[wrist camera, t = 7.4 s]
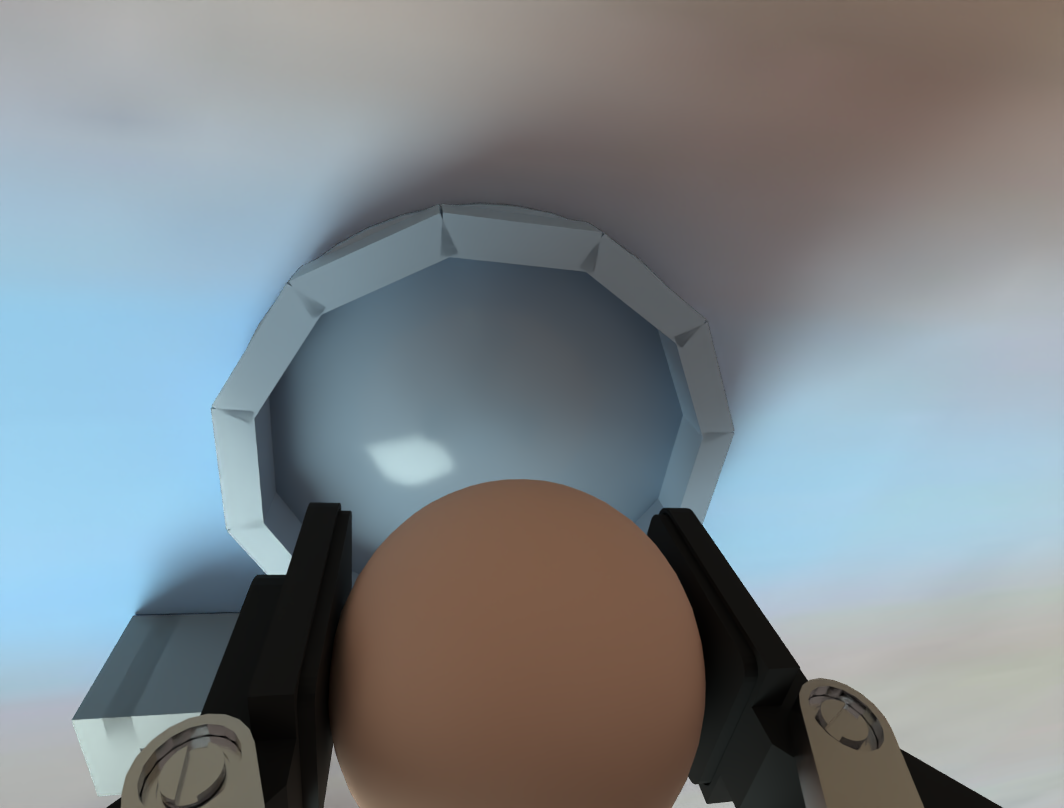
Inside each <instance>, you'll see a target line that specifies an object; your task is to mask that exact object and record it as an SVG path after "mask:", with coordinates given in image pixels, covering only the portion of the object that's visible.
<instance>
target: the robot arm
mask: <svg viewBox="0 0 1064 808" xmlns="http://www.w3.org/2000/svg"><path fill="white" fill-rule="evenodd" d="M647 536H648V537H649V538H650V539H651V540H652V541H653V542H654V543H655V545H656V546H657V547H658V548H659V550H660V551H661V553H662V554H663V555H664V557H665V558H666V559H667V561H668V562H669V564H670V565H671V567H672V568H673V570H674V571H675V573H676V574H677V577H678V579H679V581H680V583H681V585H682V587H683V589H684V591H685V593H686V596H687V598H688V600H689V602H690V604H691V607H692V609H693V613H694V616H695V620H696V624H697V627H698V631H699V635H700V639H701V642H702V648H703V656H704V664H705V679H706V690H705V710H704V718H703V724H702V729H701V735H700V740H699V745H698V748H697V751H696V754H695V757H694V760H693V763H692V766H691V769H690V772H689V774H688V777H689V779H690V780H691V782H692V783H694V784H699V786H700V789H701V791H702V794H703V796H704V798H705V801H706V803H707V804H711V803H721V802H730V801H733V803H734V805H735V807H736V808H1002V807H1001V806H999V805H997V804H995V803H994V802H992V801H990V800H988V799H987V798H985V797H983V796H982V795H980V794H978V793H976V792H975V791H973V790H971V789H969V788H968V787H966V786H964V785H962V784H961V783H959V782H957V781H955V780H954V779H952V778H950V777H948V776H947V775H945V774H943V773H942V772H940V771H938V770H936V769H935V768H933V767H931V766H929V765H928V764H926V763H924V762H922V761H921V760H919V759H917V758H915V757H914V756H912V755H910V754H909V753H907V752H905V751H903V750H902V749H900V748H899V745H898V743H897V740H896V738H895V736H894V733H893V731H892V729H891V727H890V725H889V723H888V722H887V720H886V718H885V716H884V715H883V714H882V713H881V712H880V711H879V709H878V708H877V707H876V706H875V705H874V704H873V703H872V702H871V701H869V700H868V699H867V698H866V697H865V696H863V695H862V694H861V693H859V692H858V691H856V690H854V689H853V688H851V687H849V686H848V685H845V684H843V683H840V682H837V681H835V680H830V679H823V678H818V679H812V680H809V681H808V680H807V679H806V677H805V676H804V674H803V673H802V671H801V670H800V666H799V665H798V663H797V662H796V661H795V659H794V658H793V656H792V655H791V653H790V652H789V650H788V649H787V647H786V646H785V645H784V643H783V642H782V640H781V639H780V637H779V636H778V634H777V633H776V631H775V630H774V629H773V627H772V626H771V624H770V623H769V621H768V620H767V618H766V617H765V615H764V614H763V613H762V611H761V610H760V608H759V607H758V605H757V604H756V602H755V601H754V599H753V598H752V597H751V595H750V594H749V592H748V591H747V589H746V588H745V586H744V585H743V583H742V582H741V581H740V579H739V578H738V576H737V575H736V573H735V572H734V570H733V569H732V567H731V566H730V565H729V563H728V562H727V560H726V559H725V557H724V556H723V554H722V553H721V551H720V550H719V549H718V547H717V546H716V544H715V543H714V541H713V540H712V538H711V537H710V535H709V534H708V533H707V531H706V530H705V528H704V527H703V525H702V524H701V522H700V521H699V519H698V518H697V517H696V515H695V514H694V512H693V511H692V510H691V509H689V508H662V509H661V510H660V512H659V514H655V515H653V517H652V519H651V522H650V525H649V529H648V532H647ZM351 590H352V511H341V503H322V502H310V503H309V505H308V507H307V510H306V513H305V517H304V520H303V523H302V526H301V529H300V532H299V535H298V539H297V542H296V545H295V548H294V551H293V554H292V558H291V561H290V564H289V567H288V570H287V573H286V575H257V576H256V577H255V578H254V579H253V581H252V583H251V585H250V588H249V591H248V593H247V596H246V598H245V601H244V603H243V606H242V609H241V611H240V614H239V616H238V619H237V621H236V624H235V627H234V629H233V632H232V634H231V637H230V640H229V642H228V645H227V647H226V650H225V652H224V655H223V658H222V660H221V663H220V665H219V668H218V670H217V673H216V676H215V678H214V681H213V683H212V686H211V689H210V691H209V694H208V696H207V699H206V701H205V704H204V707H203V709H202V712H201V714H200V716H196V717H192V718H188V719H186V720H184V721H182V722H180V723H177V724H175V725H173V726H171V727H169V728H168V729H166V730H165V731H164V732H162V733H161V734H159V735H158V736H157V737H155V738H154V739H153V740H151V741H150V742H149V743H148V745H147V746H146V747H145V748H144V749H143V750H142V751H141V752H140V753H139V754H138V755H137V757H136V758H135V760H134V762H133V763H132V765H131V767H130V769H129V770H128V772H127V774H126V776H125V781H124V785H123V790H122V794H121V798H119V799H118V800H117V801H115V802H114V803H112V804H111V805H110V806H108V807H107V808H323V807H324V800H325V794H326V787H327V781H328V774H329V768H330V761H331V755H332V748H333V739H332V734H331V729H330V721H329V712H328V697H329V676H330V665H331V658H332V651H333V644H334V637H335V633H336V630H337V626H338V622H339V619H340V615H341V611H342V609H343V607H344V605H345V603H346V601H347V598H348V596H349V594H350V592H351Z"/></svg>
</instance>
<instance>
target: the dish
mask: <svg viewBox="0 0 1064 808" xmlns="http://www.w3.org/2000/svg"><path fill="white" fill-rule="evenodd" d="M211 414H212V422H213V430H214V438H215V445H216V453H217V461H218V469H219V477H220V485H221V493H222V501H223V509H224V517H225V525H226V529H228V531H227V532H228V533H229V534H230V535H231V536H232V537H233V538H234V539H235V540H236V542H237V543H238V544H239V545H240V546H241V547H242V548H243V549H244V550H245V551H246V552H247V553H248V555H249V556H250V557H251V558H252V559H253V560H254V561H255V562H256V563H257V564H258V565H259V566H260V568H261V569H262V570H263V571H264V572H265V573H266V574H267V575H286V573H287V570H288V567H289V564H290V561H291V558H292V554H293V551H294V548H295V545H296V542H297V539H298V535H299V532H300V529H301V526H302V523H303V520H304V517H305V513H306V510H307V507H308V505H309V503H310V502H322V503H341V511H352V588H353V586H354V583H355V581H356V579H357V577H358V576H359V574H360V573H361V571H362V570H363V568H364V567H365V565H366V564H367V562H368V561H369V560H370V558H371V557H372V555H373V554H374V552H375V551H376V550H377V548H378V547H379V546H380V545H381V544H382V543H383V542H384V541H385V539H386V538H387V537H388V536H389V535H390V534H391V533H392V532H393V531H394V530H396V529H397V528H398V527H399V526H400V525H401V524H402V523H404V522H405V521H406V520H407V519H408V518H409V517H411V516H412V515H413V514H414V513H416V512H417V511H419V510H420V509H422V508H423V507H425V506H426V505H428V504H429V503H431V502H433V501H435V500H437V499H439V498H441V497H443V496H445V495H447V494H450V493H452V492H455V491H458V490H460V489H463V488H466V487H469V486H472V485H476V484H480V483H484V482H490V481H497V480H507V479H530V480H542V481H548V482H553V483H558V484H563V485H566V486H569V487H572V488H575V489H578V490H580V491H583V492H585V493H588V494H590V495H592V496H594V497H596V498H598V499H600V500H602V501H604V502H606V503H607V504H609V505H610V506H612V507H613V508H615V509H616V510H617V511H619V512H620V513H622V514H623V515H625V516H626V517H627V518H629V519H630V520H632V521H633V522H634V523H635V524H636V525H637V526H638V527H639V528H640V529H641V530H642V531H643V532H644V533H645V534H646V535H647V532H648V529H649V525H650V522H651V519H652V517H653V515H655V514H659V512H660V510H661V509H662V508H689V509H691V510H692V511H693V512H694V514H695V515H696V517H697V518H698V519H699V521H700V522H701V524H703V521H704V518H705V515H706V512H707V510H708V507H709V504H710V501H711V498H712V495H713V492H714V489H715V487H716V484H717V481H718V478H719V475H720V472H721V469H722V466H723V464H724V461H725V458H726V455H727V452H728V449H729V446H730V444H731V441H732V438H733V435H734V432H733V431H734V427H733V423H732V419H731V415H730V411H729V407H728V403H727V398H726V394H725V390H724V386H723V382H722V378H721V374H720V370H719V366H718V362H717V357H716V353H715V349H714V345H713V341H712V337H711V333H710V329H709V325H708V322H707V321H706V319H705V318H704V317H703V316H701V315H700V314H699V313H698V312H697V311H695V310H694V309H693V308H692V307H691V306H690V305H688V304H687V303H686V302H685V301H684V300H683V299H681V298H680V297H679V296H678V295H677V294H675V293H674V292H673V291H672V290H671V289H670V288H668V287H667V286H666V285H665V284H664V283H663V282H662V281H661V280H660V279H659V278H658V277H657V276H656V275H655V274H654V273H653V272H652V271H651V270H650V269H649V268H648V267H647V266H646V265H645V264H644V263H643V262H642V261H640V260H639V259H638V258H636V257H635V256H634V255H632V254H631V253H629V252H628V251H627V250H625V249H624V248H623V247H621V246H620V245H618V244H617V243H616V242H614V241H613V240H612V239H611V238H610V237H608V236H607V235H606V234H605V233H603V232H602V231H600V230H599V229H597V228H596V227H594V226H593V225H591V224H590V223H588V222H583V221H575V220H569V219H567V218H564V217H561V216H558V215H555V214H552V213H550V212H545V211H540V210H535V209H530V208H525V207H520V206H515V205H501V204H484V203H473V204H460V205H449V204H442V205H441V206H439V204H437V205H435V206H433V207H431V208H429V209H425V210H420V211H416V212H411V213H406V214H403V215H400V216H397V217H395V218H392V219H389V220H387V221H384V222H381V223H379V224H376V225H373V226H370V227H368V228H366V229H364V230H363V231H361V232H359V233H357V234H355V235H353V236H352V237H350V238H348V239H346V240H344V241H342V242H340V243H339V244H337V245H335V246H334V247H333V248H331V249H330V250H329V251H327V252H326V253H325V254H323V255H322V256H321V257H319V258H318V259H316V260H314V261H311V262H309V263H307V264H305V265H303V266H301V267H300V268H299V269H298V270H297V271H296V272H295V274H294V275H293V276H292V277H291V278H290V280H289V281H288V282H287V283H286V285H285V286H284V288H283V290H282V291H281V293H280V295H279V296H278V298H277V300H276V301H275V302H274V304H273V305H272V307H271V308H270V309H269V311H268V312H267V313H266V315H265V316H264V318H263V319H262V320H261V322H260V323H259V325H258V327H257V329H256V331H255V333H254V335H253V337H252V339H251V341H250V343H249V345H248V347H247V349H246V350H245V352H244V354H243V355H242V357H241V359H240V360H239V362H238V363H237V365H236V367H235V368H234V370H233V372H232V373H231V375H230V377H229V378H228V380H227V381H226V383H225V385H224V386H223V388H222V390H221V391H220V393H219V395H218V396H217V398H216V399H215V401H214V403H213V404H212V408H211Z"/></svg>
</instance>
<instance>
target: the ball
mask: <svg viewBox="0 0 1064 808" xmlns="http://www.w3.org/2000/svg"><path fill="white" fill-rule="evenodd" d="M705 690H706V679H705V664H704V656H703V648H702V642H701V639H700V635H699V631H698V627H697V624H696V620H695V616H694V613H693V609H692V607H691V604H690V602H689V600H688V598H687V596H686V593H685V591H684V589H683V587H682V585H681V583H680V581H679V579H678V577H677V574H676V573H675V571H674V570H673V568H672V567H671V565H670V564H669V562H668V561H667V559H666V558H665V557H664V555H663V554H662V553H661V551H660V550H659V548H658V547H657V546H656V545H655V543H654V542H653V541H652V540H651V539H650V538H649V537H648V536H647V535H646V534H645V533H644V532H643V531H642V530H641V529H640V528H639V527H638V526H637V525H636V524H635V523H634V522H633V521H632V520H630V519H629V518H627V517H626V516H625V515H623V514H622V513H620V512H619V511H617V510H616V509H615V508H613V507H612V506H610V505H609V504H607V503H606V502H604V501H602V500H600V499H598V498H596V497H594V496H592V495H590V494H588V493H585V492H583V491H580V490H578V489H575V488H572V487H569V486H566V485H563V484H558V483H553V482H548V481H542V480H530V479H507V480H497V481H490V482H484V483H480V484H476V485H472V486H469V487H466V488H463V489H460V490H458V491H455V492H452V493H450V494H447V495H445V496H443V497H441V498H439V499H437V500H435V501H433V502H431V503H429V504H428V505H426V506H425V507H423V508H422V509H420V510H419V511H417V512H416V513H414V514H413V515H412V516H411V517H409V518H408V519H407V520H406V521H405V522H404V523H402V524H401V525H400V526H399V527H398V528H397V529H396V530H394V531H393V532H392V533H391V534H390V535H389V536H388V537H387V538H386V539H385V541H384V542H383V543H382V544H381V545H380V546H379V547H378V548H377V550H376V551H375V552H374V554H373V555H372V557H371V558H370V560H369V561H368V562H367V564H366V565H365V567H364V568H363V570H362V571H361V573H360V574H359V576H358V577H357V579H356V581H355V583H354V586H353V588H352V590H351V592H350V594H349V596H348V598H347V601H346V603H345V605H344V607H343V609H342V611H341V615H340V619H339V622H338V626H337V630H336V633H335V637H334V644H333V651H332V658H331V665H330V676H329V697H328V712H329V721H330V729H331V734H332V739H333V743H334V748H335V752H336V756H337V759H338V762H339V764H340V767H341V770H342V772H343V775H344V777H345V780H346V783H347V785H348V788H349V790H350V792H351V794H352V796H353V797H354V799H355V801H356V802H357V804H358V806H359V807H360V808H672V806H673V804H674V802H675V801H676V799H677V797H678V795H679V793H680V792H681V790H682V788H683V786H684V784H685V782H686V780H687V777H688V774H689V772H690V769H691V766H692V763H693V760H694V757H695V754H696V751H697V748H698V745H699V740H700V735H701V729H702V724H703V718H704V710H705Z"/></svg>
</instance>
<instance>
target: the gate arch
mask: <svg viewBox="0 0 1064 808" xmlns="http://www.w3.org/2000/svg"><path fill="white" fill-rule="evenodd" d="M239 614H240V613H220V614H180V615H140V616H133V617H132V618H131V620H130V622H129V624H128V625H127V627H126V629H125V630H124V632H123V634H122V635H121V637H120V639H119V641H118V642H117V644H116V646H115V647H114V649H113V651H112V652H111V654H110V656H109V658H108V659H107V661H106V663H105V664H104V666H103V668H102V669H101V671H100V673H99V675H98V676H97V678H96V680H95V681H94V683H93V685H92V686H91V688H90V690H89V691H88V693H87V695H86V697H85V698H84V700H83V702H82V703H81V705H80V707H79V708H78V710H77V712H76V714H75V715H74V717H73V719H72V723H73V725H74V728H75V731H76V734H77V737H78V740H79V743H80V746H81V748H82V751H83V754H84V757H85V760H86V763H87V766H88V769H89V772H90V774H91V777H92V780H93V783H94V786H95V789H96V792H97V795H98V796H109V795H121V794H122V790H123V785H124V781H125V776H126V774H127V772H128V770H129V769H130V767H131V765H132V763H133V762H134V760H135V758H136V757H137V755H138V754H139V753H140V752H141V751H142V750H143V749H144V748H145V747H146V746H147V745H148V743H149V742H150V741H151V740H153V739H154V738H155V737H157V736H158V735H159V734H161V733H162V732H164V731H165V730H166V729H168V728H169V727H171V726H173V725H175V724H177V723H180V722H182V721H184V720H186V719H188V718H192V717H196V716H200V714H201V712H202V709H203V707H204V704H205V701H206V699H207V696H208V694H209V691H210V689H211V686H212V683H213V681H214V678H215V676H216V673H217V670H218V668H219V665H220V663H221V660H222V658H223V655H224V652H225V650H226V647H227V645H228V642H229V640H230V637H231V634H232V632H233V629H234V627H235V624H236V621H237V619H238V616H239Z"/></svg>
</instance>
